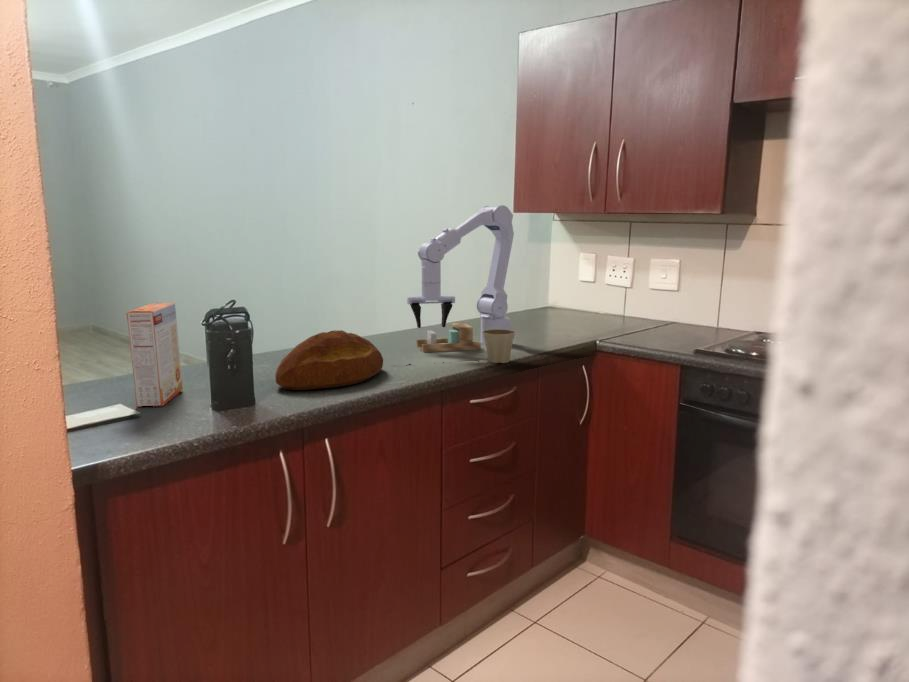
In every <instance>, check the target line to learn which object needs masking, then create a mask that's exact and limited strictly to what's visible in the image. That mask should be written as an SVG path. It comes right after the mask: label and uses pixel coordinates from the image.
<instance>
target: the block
mask: <svg viewBox="0 0 909 682" xmlns="http://www.w3.org/2000/svg"><path fill="white" fill-rule="evenodd" d="M447 338H448V343H459V329H457V330H452V329H447Z"/></svg>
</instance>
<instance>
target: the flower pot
mask: <svg viewBox="0 0 909 682" xmlns="http://www.w3.org/2000/svg"><path fill="white" fill-rule="evenodd" d="M483 333H484V338H485V341H486V344H485V348H486V356H487V363H491V364H498V363H501V364H507V363H508V364H509V362H510V360H511V352H512V346H513V342H514V339H515V334H517V332H516V331H515V330H512V329H511V330H505V329H490V330H484V331H483Z"/></svg>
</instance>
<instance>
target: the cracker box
mask: <svg viewBox="0 0 909 682" xmlns="http://www.w3.org/2000/svg"><path fill="white" fill-rule="evenodd" d="M126 320H127V321H126V322H127V332H128V339H129V348H130V357H131V358H130V359H131V367H132V368H131V370H132V377H133V388H134V393H135V394H134V396H135V406H136V408H143V407H142V406H153V407H154V408H155V406H156V407H158V406H159V407H164V406H165V405H166V404H168V403H169V402H170V401H171V400H172V399H173V397H174V396H175V395H176V396H177V395H179V394H180V393H181V392H182V391H183V390H182V389H184V388H183V377H182V367H181V356H180V355H181V354H180V346H179V345H180V344H179V343H180V342H179V334H178V323H177V322H178V320H177V311H176V304H175V302H155V303H153V302H152V303H149V304H146V305H143V306H141V307H138V308H137V307H136V309H135V308H134V309H131V310H129V311H126ZM181 390H182V391H181ZM180 391H181V392H180ZM179 392H180V393H179ZM176 396H175V397H176ZM175 397H174V398H175ZM168 401H169V402H168Z"/></svg>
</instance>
